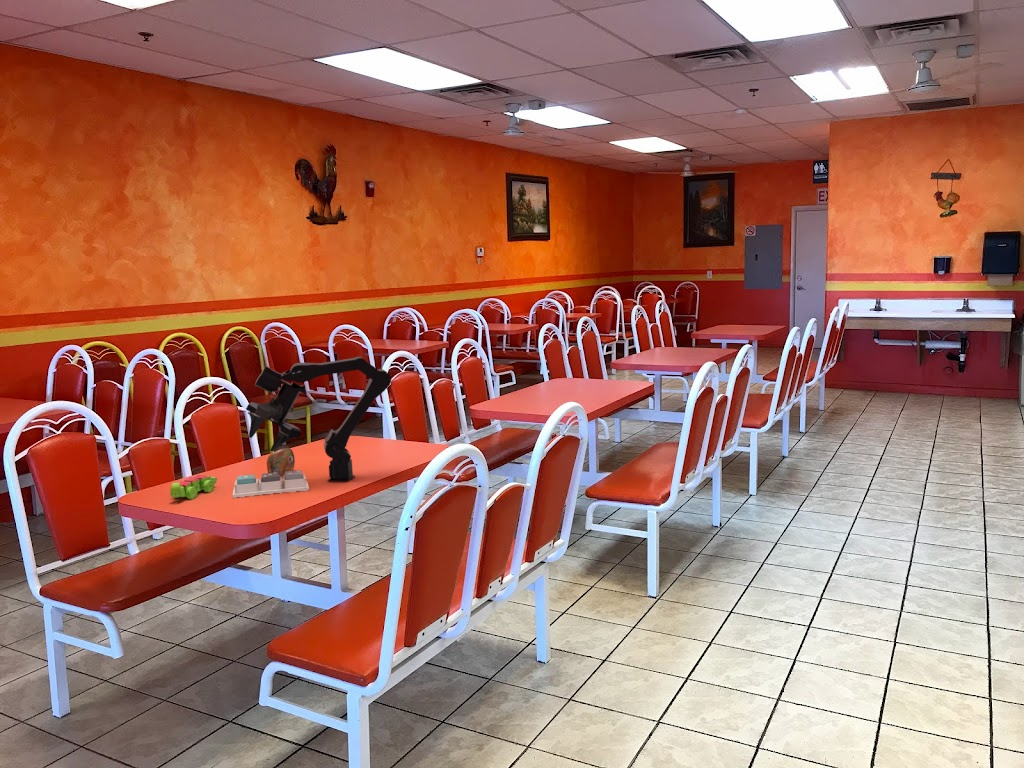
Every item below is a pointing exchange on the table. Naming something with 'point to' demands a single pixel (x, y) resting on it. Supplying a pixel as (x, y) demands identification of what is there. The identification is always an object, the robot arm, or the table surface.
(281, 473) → the brown flat rounded piece
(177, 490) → the toy crocodile
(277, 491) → the keypad
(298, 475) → the key two dots
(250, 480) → the key one dot
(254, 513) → the table surface
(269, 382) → the robot arm
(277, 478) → the key three dots
